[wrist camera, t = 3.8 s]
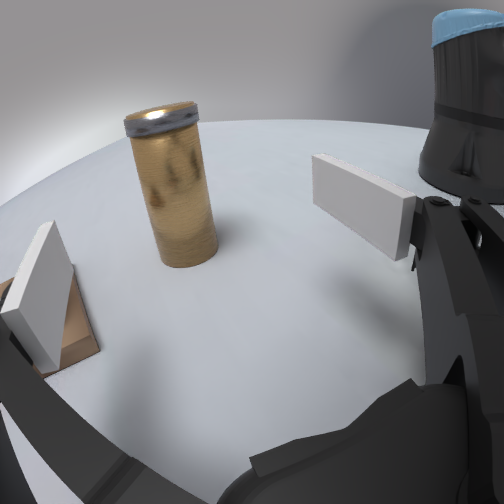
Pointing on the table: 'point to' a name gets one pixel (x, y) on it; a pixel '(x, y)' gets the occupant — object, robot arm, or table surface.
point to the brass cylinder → (174, 182)
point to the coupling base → (71, 330)
